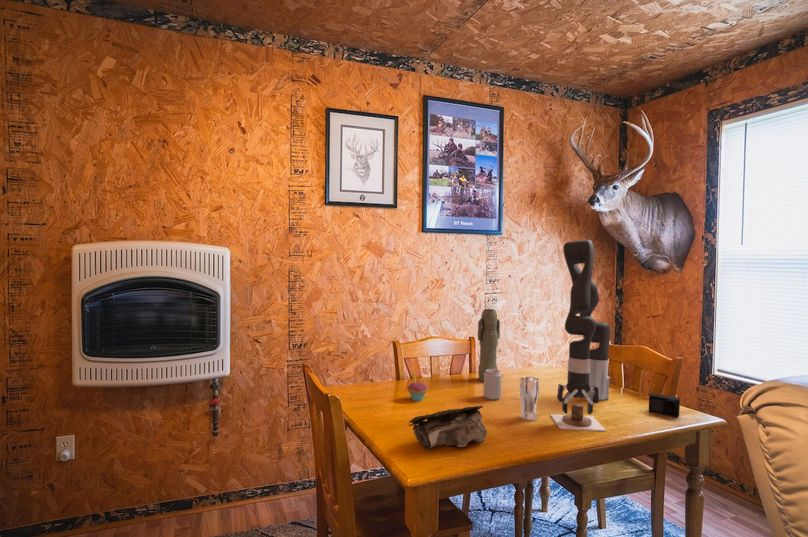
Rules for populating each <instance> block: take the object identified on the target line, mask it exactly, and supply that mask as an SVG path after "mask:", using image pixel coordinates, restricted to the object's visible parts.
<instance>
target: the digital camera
mask: <svg viewBox="0 0 808 537" xmlns="http://www.w3.org/2000/svg"><path fill="white" fill-rule="evenodd" d="M680 403H681V397H676V396H670V395H665V394H659V393H653V392H650V394H649V396H648V413H650V414H655V415H661V416H664V417H665V416H666V417H671V418H675V419H679V417H680V411H681V410H680V408H681V407H680V406H681V405H680Z"/></svg>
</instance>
